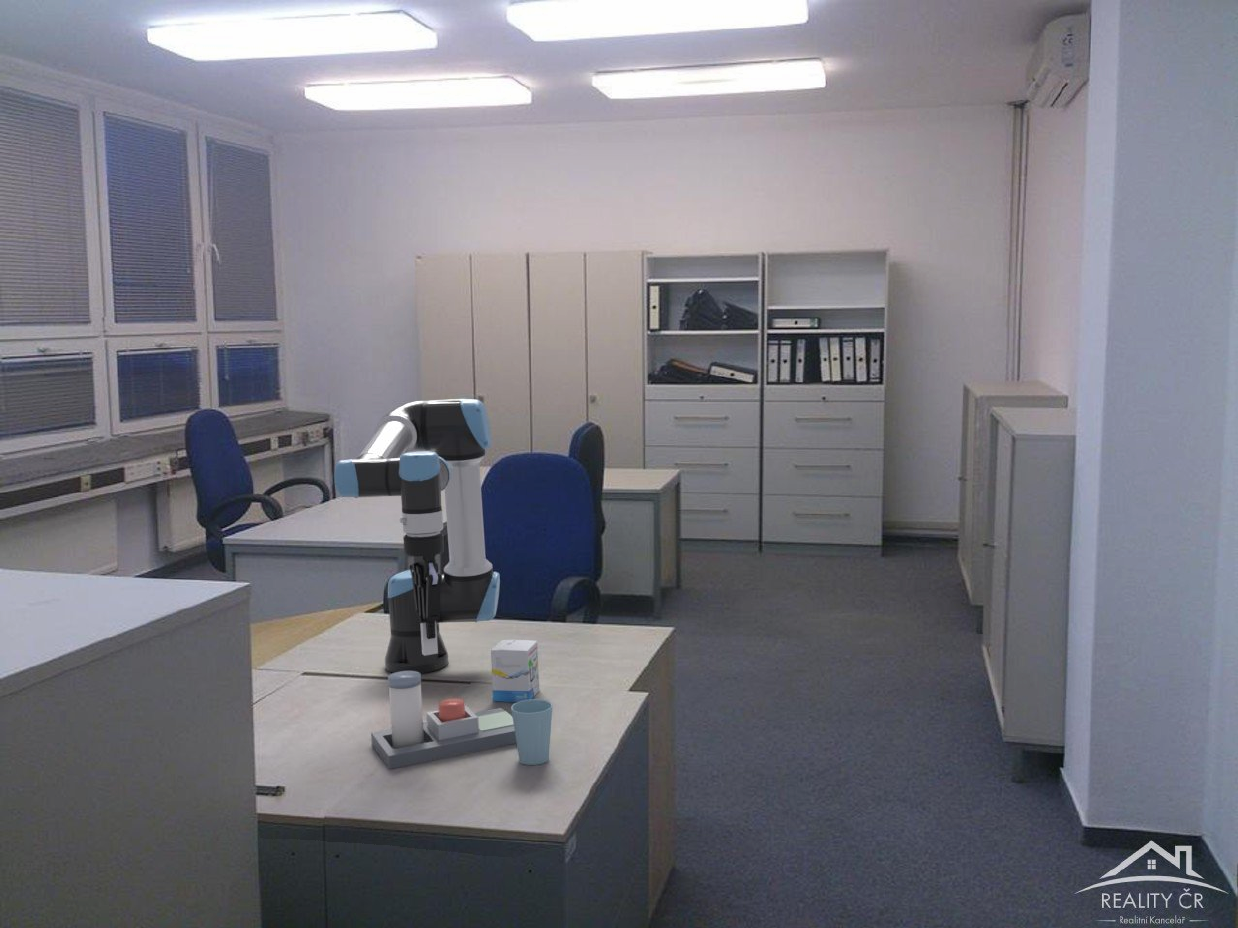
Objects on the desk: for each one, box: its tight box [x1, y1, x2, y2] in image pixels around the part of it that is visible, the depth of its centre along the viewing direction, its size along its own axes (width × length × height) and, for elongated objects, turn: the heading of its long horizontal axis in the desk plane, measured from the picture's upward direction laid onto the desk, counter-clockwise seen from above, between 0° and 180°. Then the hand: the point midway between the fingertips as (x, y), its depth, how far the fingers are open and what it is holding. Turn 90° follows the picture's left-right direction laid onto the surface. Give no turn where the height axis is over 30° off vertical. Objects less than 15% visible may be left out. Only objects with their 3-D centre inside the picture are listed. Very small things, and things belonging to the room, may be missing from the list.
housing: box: [370, 705, 517, 770], centre depth 216 cm, size 14×27×6 cm, turn 116°
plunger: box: [438, 698, 465, 722], centre depth 216 cm, size 5×5×5 cm
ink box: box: [490, 639, 540, 703], centre depth 242 cm, size 8×8×12 cm
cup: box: [510, 698, 553, 766], centre depth 206 cm, size 8×8×10 cm
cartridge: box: [387, 671, 425, 749], centre depth 212 cm, size 6×6×15 cm
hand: (430, 653), depth 213 cm, fingers closed
